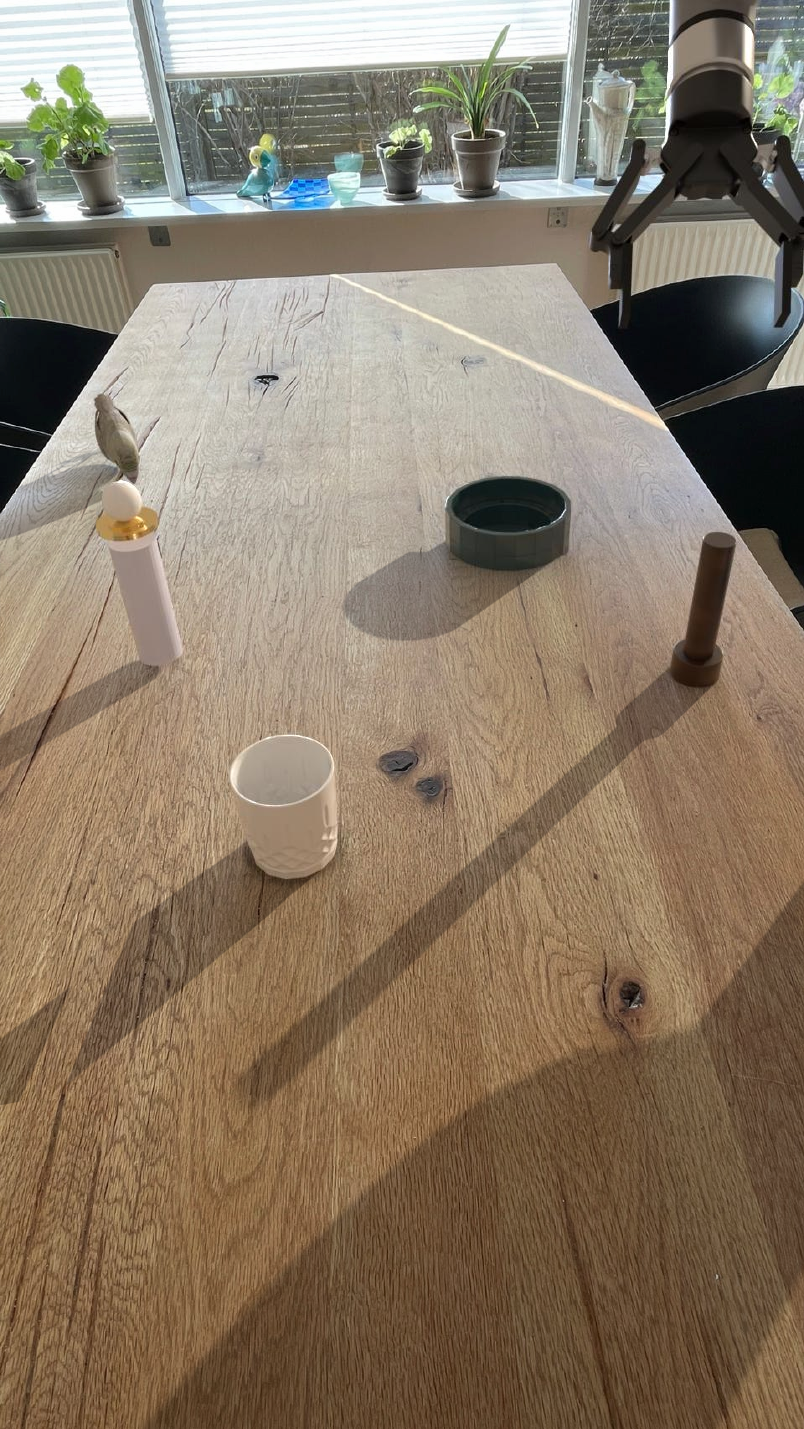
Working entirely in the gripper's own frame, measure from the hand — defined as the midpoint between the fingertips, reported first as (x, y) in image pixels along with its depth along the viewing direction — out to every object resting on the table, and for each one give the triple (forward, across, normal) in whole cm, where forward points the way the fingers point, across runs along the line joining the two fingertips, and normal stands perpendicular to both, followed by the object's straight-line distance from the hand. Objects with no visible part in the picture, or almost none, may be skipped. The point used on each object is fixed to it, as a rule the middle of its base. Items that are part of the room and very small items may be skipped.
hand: (702, 321), depth 84 cm
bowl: (+14, +17, -28) cm, 36 cm away
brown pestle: (+31, -2, -11) cm, 33 cm away
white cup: (+49, +32, +7) cm, 59 cm away
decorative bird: (-2, +73, -44) cm, 85 cm away
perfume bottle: (+31, +52, -11) cm, 62 cm away
